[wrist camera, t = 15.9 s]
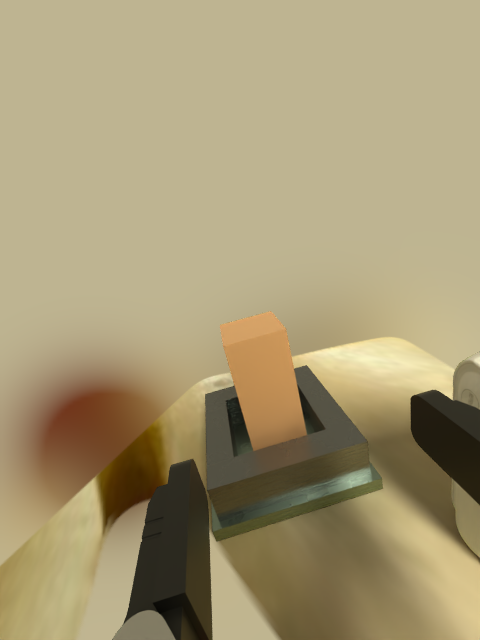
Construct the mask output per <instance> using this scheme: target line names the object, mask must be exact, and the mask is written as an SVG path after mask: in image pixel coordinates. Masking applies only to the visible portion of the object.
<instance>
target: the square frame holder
mask: <svg viewBox="0 0 480 640" xmlns="http://www.w3.org/2000/svg"><path fill="white" fill-rule="evenodd" d="M294 372H295V377H296V382H297V387H298V392H299V397H300V402H301V407H302V412H303V418H304V423H305V428H306V433H307V435H305V436H302V437H299V438H295V439H292V440H289V441H286V442H282V443H279V444H276V445H272V446H269V447H266V448H262V449H259V450H256V451H253V448H252V444H251V441H250V437H249V434H248V430H247V427H246V423H245V420H244V417H243V413H242V410H241V406H240V403H239V399H238V396H237V392H236V389H235V386H233V387H229V388H226V389H222V390H219V391H215V392H212V393H208V394H205V406H206V453H207V491H208V494H209V496H210V499H211V503H212V531H213V534H214V536H215V539H216V541H219V540H222V539H226V538H229V537H232V536H235V535H238V534H241V533H244V532H248V531H251V530H254V529H257V528H260V527H263V526H267V525H270V524H273V523H276V522H279V521H282V520H285V519H289V518H292V517H295V516H298V515H301V514H304V513H307V512H311V511H314V510H317V509H320V508H323V507H326V506H329V505H333V504H336V503H339V502H342V501H345V500H348V499H352V498H355V497H358V496H361V495H364V494H367V493H370V492H374V491H377V490H380V489H383V484H382V478H381V476H380V475H379V473H378V472H377V471H376V469H375V468H374V467H373V465H372V464H371V463H370V461H369V452H368V442H367V440H366V439H365V438H364V436H363V435H362V434H361V433H360V431H359V430H358V429H357V428H356V426H355V425H354V424H353V423H352V421H351V420H350V419H349V418H348V416H347V415H346V414H345V413H344V411H343V410H342V409H341V408H340V406H339V405H338V404H337V403H336V401H335V400H334V399H333V398H332V396H331V395H330V394H329V393H328V391H327V390H326V389H325V388H324V386H323V385H322V384H321V383H320V381H319V380H318V379H317V378H316V376H315V375H314V374H313V373H312V371H311V370H310V369H309V368H308V366H307V365H306V366H302V367H299V368H295V369H294Z"/></svg>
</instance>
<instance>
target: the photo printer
mask: <svg viewBox="0 0 480 640" xmlns="http://www.w3.org/2000/svg"><path fill="white" fill-rule="evenodd" d="M454 400H458V401H461V402H463V403H466V404H468V405H471V406H474V407H476V408H478V409H479V410H480V352H477V353H475V354H473V355H471V356H470V357H468V358H466V359H465V360H463V361H462V362H460V363H459V365H458V366H457V368H456V369H455V372H454V376H453V401H454ZM451 497H452V504H453V506H454V508H455V509H456V516H455V519H456V525H457V528H458V531H459V533H460V535H461V537H462V538H463V540H464V541H465V543H466V544H467V545H468V546H469V548H470V549H471V550H472V551H473V552H474V553H475V554H476V555H477V556H478V557H479V558H480V505H479V504H478V503H477V502H476V501H475V500H474V499H473V498H472V497H471V496H470V495H469V494H468V493H467V492H466V491H464V490H463V489H462V488H461V487H460V486H459V485H458V484H457V483H456V482H455V481H454V480H453V479H452V489H451Z"/></svg>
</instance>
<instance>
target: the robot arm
mask: <svg viewBox="0 0 480 640" xmlns="http://www.w3.org/2000/svg"><path fill="white" fill-rule="evenodd" d="M411 432H412V435H413V437H414V439H415V441H416V442H417V444H418V445H419V446H420V447H421V448H422V449H423V450H424V451H425V452H426V453H427V454H428V455H429V456H430V457H431V458H432V459H433V460H434V461H435V462H436V463H437V464H438V465H439V466H440V467H441V468H442V469H443V470H444V471H445V472H446V473H447V474H448V475H449V476H450V477H451V478H452V479H453V480H454V481H455V482H456V483H457V484H458V485H459V486H460V487H461V488H462V489H463V490H464V491H466V492H467V493H468V494H469V495H470V496H471V497H472V498H473V499H474V500H475V501H476V502H477V503H478V504H479V505H480V410H479V409H478V408H476V407H474V406H471V405H468V404H466V403H463V402H461V401H458V400H454V401H453V400H451V399H450V398H448V397H447V396H445V395H444V394H442V393H441V392H439V391H437V390H431V391H427V392H424V393H420V394H417V395H414V396H412V397H411ZM112 640H212V607H211V574H210V540H209V509H208V500H207V495H206V491H205V488H204V485H203V483H202V480H201V477H200V475H199V472H198V469H197V467H196V464H195V461H194V460H193V459H190V460H187V461H184V462H180V463H177V464H173V465H171V467H170V471H169V478H168V484H166V485H163V486H159V487H157V489H156V491H155V493H154V494H153V496H152V498H151V500H150V502H149V504H148V508H147V514H146V519H145V526H144V530H143V535H142V542H141V545H140V550H139V555H138V561H137V566H136V571H135V576H134V582H133V587H132V593H131V597H130V603H129V608H128V612H127V616H126V618H125V621H124V624H123V625H122V627H121V628H120V629H119V630H118V632H117V633H116V635H115V636H114V638H113V639H112Z"/></svg>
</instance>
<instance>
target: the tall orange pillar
mask: <svg viewBox="0 0 480 640" xmlns="http://www.w3.org/2000/svg"><path fill="white" fill-rule="evenodd" d="M220 329H221V335H222V341H223V347H224V350H225V354H226V357H227V361H228V364H229V367H230V371H231V375H232V378H233V382H234V385H235V389H236V392H237V396H238V399H239V403H240V406H241V410H242V413H243V417H244V420H245V423H246V427H247V430H248V434H249V437H250V441H251V444H252V448H253V451H256V450H259V449H262V448H266V447H269V446H272V445H276V444H279V443H282V442H286V441H289V440H292V439H295V438H299V437H302V436H305V435H307V433H306V428H305V423H304V418H303V412H302V407H301V402H300V397H299V392H298V387H297V382H296V377H295V372H294V367H293V362H292V357H291V352H290V346H289V341H288V336H287V332H286V328H285V327H284V326H283V325H282V324H281V322H280V321H279V320H278V319H277V318H276V316H275V315H274V314H273V313H272V312H271V311H270V312H266V313H262V314H259V315H255V316H251V317H247V318H244V319H240V320H236V321H233V322H229V323H225V324H222V325H220Z"/></svg>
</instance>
